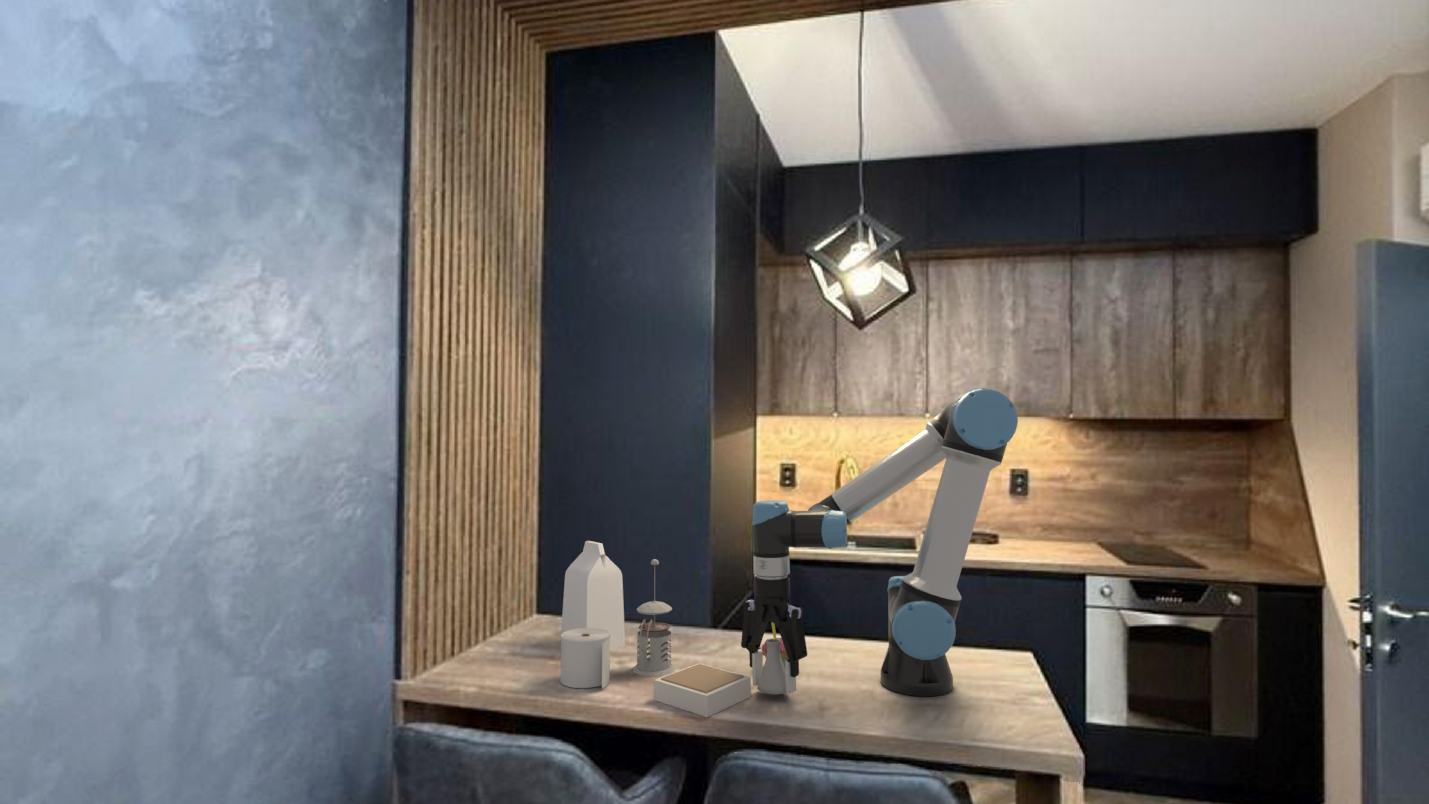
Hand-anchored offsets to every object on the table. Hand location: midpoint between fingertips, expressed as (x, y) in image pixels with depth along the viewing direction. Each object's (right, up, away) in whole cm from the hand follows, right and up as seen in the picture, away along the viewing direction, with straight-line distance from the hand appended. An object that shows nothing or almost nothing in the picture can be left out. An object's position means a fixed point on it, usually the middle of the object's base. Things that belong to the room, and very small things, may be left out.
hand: (774, 687), depth 151 cm
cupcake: (+3, -3, +17) cm, 17 cm away
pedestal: (-15, -2, -1) cm, 15 cm away
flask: (0, -1, 0) cm, 1 cm away
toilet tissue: (-40, -2, +9) cm, 41 cm away
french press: (-26, -2, +16) cm, 31 cm away
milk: (-43, -3, +35) cm, 56 cm away
